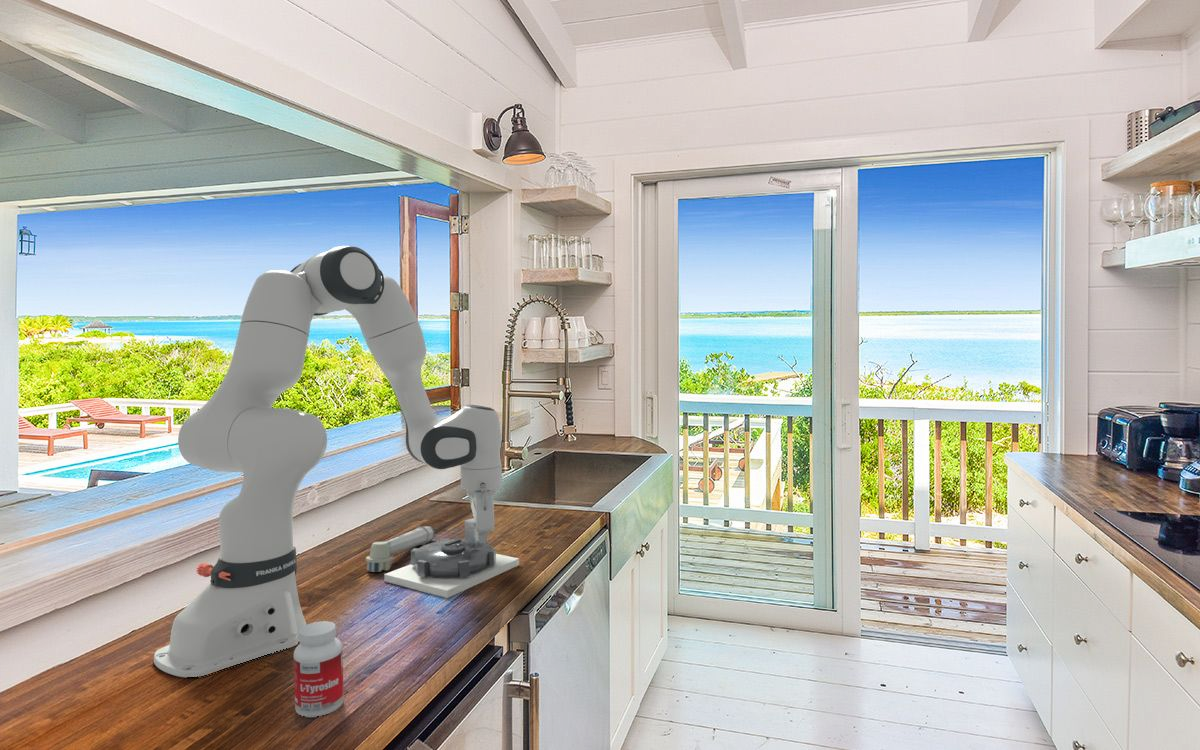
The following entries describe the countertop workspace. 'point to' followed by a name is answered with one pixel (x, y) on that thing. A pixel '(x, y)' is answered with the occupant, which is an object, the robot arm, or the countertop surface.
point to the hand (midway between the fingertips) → (482, 542)
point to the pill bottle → (318, 670)
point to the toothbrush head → (396, 547)
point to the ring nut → (454, 555)
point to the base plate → (448, 578)
